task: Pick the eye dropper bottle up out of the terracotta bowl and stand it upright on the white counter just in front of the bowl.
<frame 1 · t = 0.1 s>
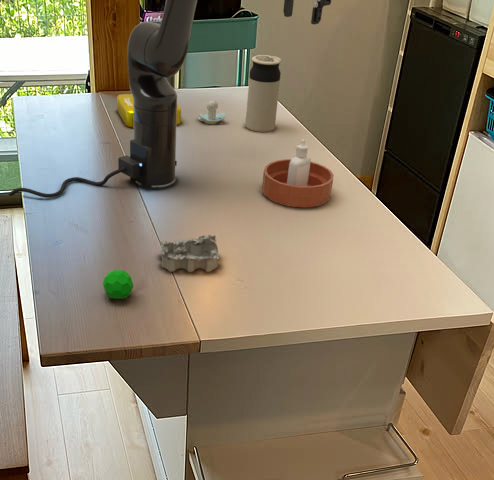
hand: (301, 20, 169), 29 cm above the kitchen island, tool pointing down, fingers open, 8 cm apart
element tile: (148, 118, 194), on the kitchen island
egg carton: (189, 263, 131), on the kitchen island
pacifier: (210, 122, 194), on the kitchen island
bowl: (295, 193, 158), on the kitchen island
eye dropper bottle: (296, 192, 158), resting on bowl
travel mug: (259, 128, 192), on the kitchen island
polyhedron: (118, 297, 121), on the kitchen island
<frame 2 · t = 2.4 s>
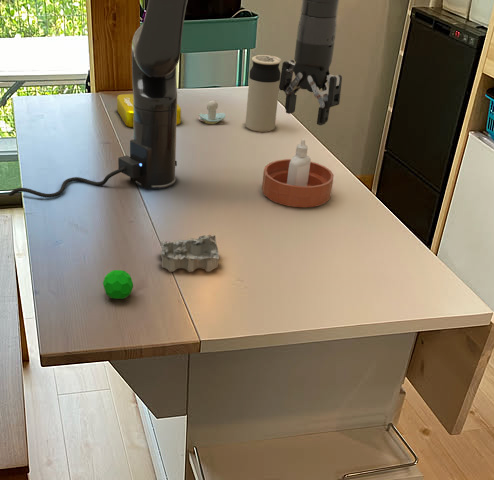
hand: (305, 118, 150), 17 cm above the kitchen island, tool pointing down, fingers open, 8 cm apart
nothing on the kitchen island moved.
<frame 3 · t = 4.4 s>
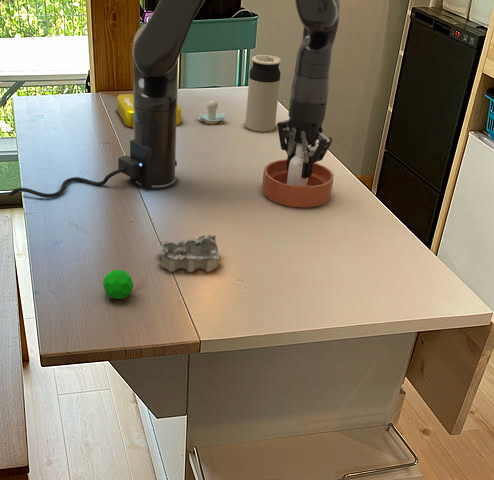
hand: (298, 173, 155), 5 cm above the kitchen island, tool pointing down, fingers closed on eye dropper bottle, 3 cm apart
eye dropper bottle: (296, 192, 158), resting on bowl, touching gripper
everything else where it was.
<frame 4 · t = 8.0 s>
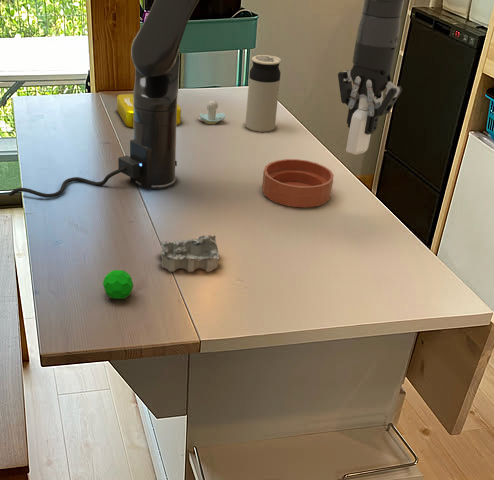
hand: (360, 130, 141), 18 cm above the kitchen island, tool pointing down, fingers closed on eye dropper bottle, 3 cm apart
eye dropper bottle: (356, 151, 143), point 14 cm above the kitchen island, touching gripper
everything else where it was.
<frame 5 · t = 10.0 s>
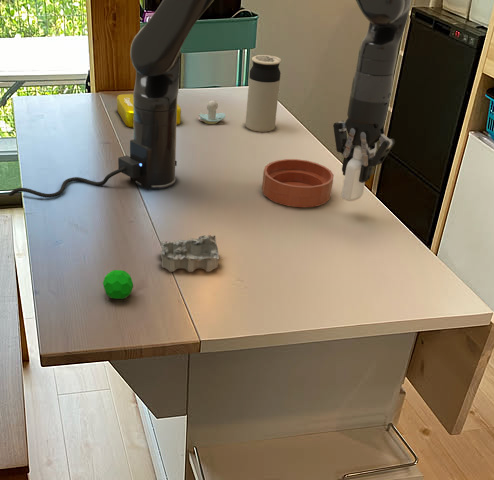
hand: (355, 177, 146), 8 cm above the kitchen island, tool pointing down, fingers closed on eye dropper bottle, 3 cm apart
eye dropper bottle: (351, 197, 148), point 4 cm above the kitchen island, touching gripper
everything else where it was.
when the fingers open (4 cm above the kitchen island, at t = 11.4 s): eye dropper bottle stays where it is, on the kitchen island.
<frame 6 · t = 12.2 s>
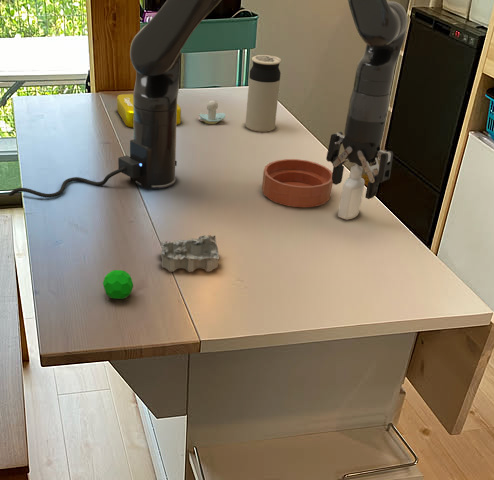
hand: (352, 190, 147), 6 cm above the kitchen island, tool pointing down, fingers open, 8 cm apart
eye dropper bottle: (348, 215, 151), on the kitchen island
everything else where it was.
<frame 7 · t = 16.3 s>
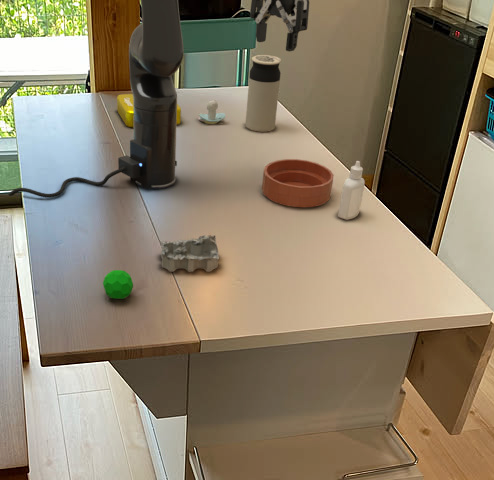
hand: (275, 46, 153), 28 cm above the kitchen island, tool pointing down, fingers open, 8 cm apart
nothing on the kitchen island moved.
at the end: eye dropper bottle inside the target area (0.1 cm from its centre), on the kitchen island; eye dropper bottle tilted 0°; the gripper is holding nothing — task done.
